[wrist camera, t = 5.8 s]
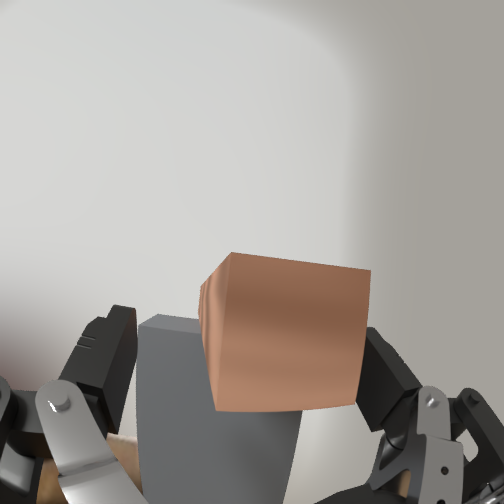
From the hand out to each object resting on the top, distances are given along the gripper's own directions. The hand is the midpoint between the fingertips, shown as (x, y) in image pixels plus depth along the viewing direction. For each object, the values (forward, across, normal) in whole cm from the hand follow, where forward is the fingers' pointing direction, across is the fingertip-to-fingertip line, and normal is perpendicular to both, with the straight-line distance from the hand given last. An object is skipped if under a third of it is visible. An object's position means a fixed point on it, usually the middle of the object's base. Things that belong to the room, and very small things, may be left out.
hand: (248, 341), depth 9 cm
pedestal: (-8, 0, +33) cm, 34 cm away
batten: (+7, 0, +5) cm, 8 cm away
